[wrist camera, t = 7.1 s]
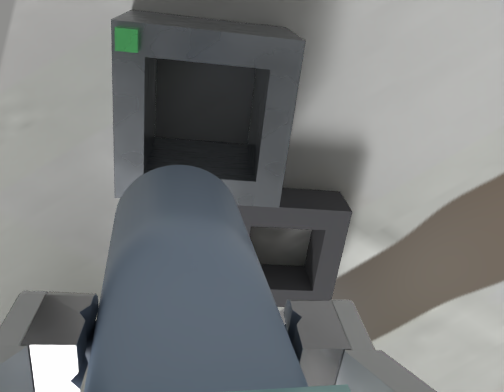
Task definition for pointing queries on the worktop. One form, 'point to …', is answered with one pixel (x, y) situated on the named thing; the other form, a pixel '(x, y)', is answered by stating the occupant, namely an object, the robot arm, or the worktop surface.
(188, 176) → the plug
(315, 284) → the holster
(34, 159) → the worktop surface
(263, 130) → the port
